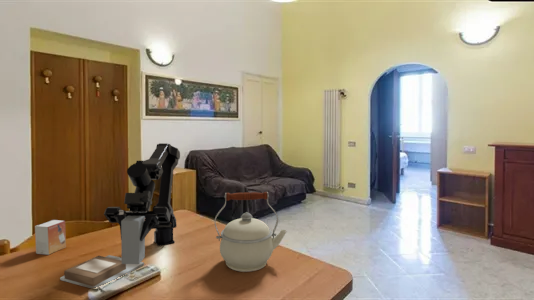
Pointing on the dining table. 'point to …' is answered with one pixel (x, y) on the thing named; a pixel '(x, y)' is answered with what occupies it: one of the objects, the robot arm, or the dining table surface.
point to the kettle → (247, 238)
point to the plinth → (98, 271)
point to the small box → (50, 237)
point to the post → (132, 240)
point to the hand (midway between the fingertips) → (131, 240)
